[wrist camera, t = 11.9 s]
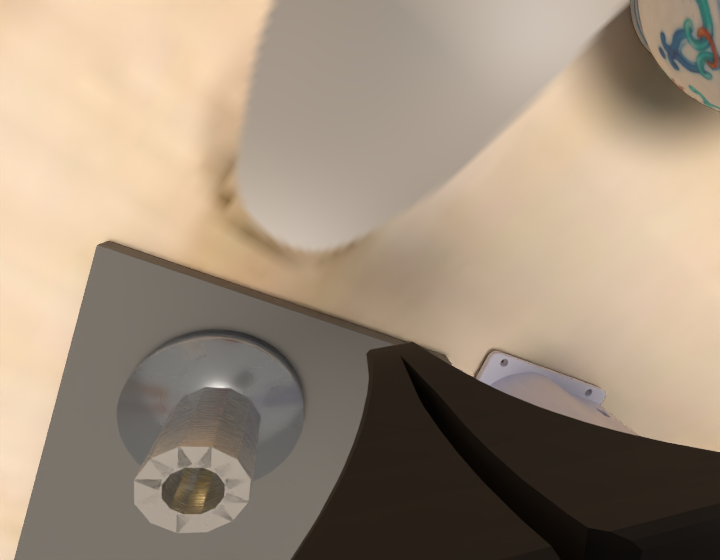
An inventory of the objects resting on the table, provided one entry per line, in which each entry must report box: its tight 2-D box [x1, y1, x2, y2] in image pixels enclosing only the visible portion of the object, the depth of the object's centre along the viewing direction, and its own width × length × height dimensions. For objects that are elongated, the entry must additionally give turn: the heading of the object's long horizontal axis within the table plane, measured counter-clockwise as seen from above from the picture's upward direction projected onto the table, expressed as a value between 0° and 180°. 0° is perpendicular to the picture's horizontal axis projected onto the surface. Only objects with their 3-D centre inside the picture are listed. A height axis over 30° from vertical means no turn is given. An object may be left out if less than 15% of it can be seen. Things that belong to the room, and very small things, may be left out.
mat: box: [14, 241, 451, 560], centre depth 22 cm, size 19×25×1 cm
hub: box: [117, 329, 304, 482], centre depth 18 cm, size 9×9×3 cm
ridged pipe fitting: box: [134, 387, 261, 533], centre depth 16 cm, size 4×4×4 cm
